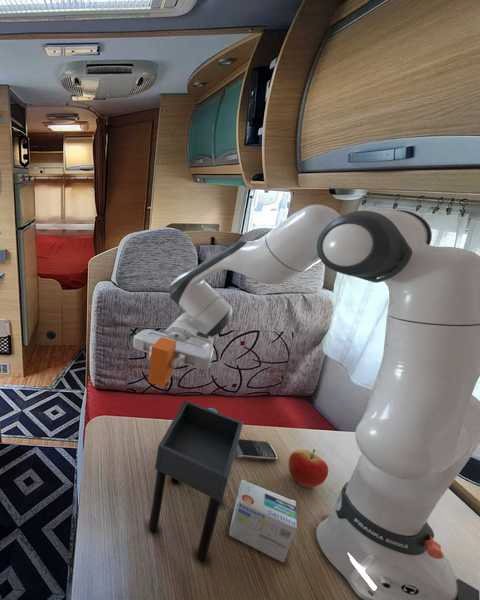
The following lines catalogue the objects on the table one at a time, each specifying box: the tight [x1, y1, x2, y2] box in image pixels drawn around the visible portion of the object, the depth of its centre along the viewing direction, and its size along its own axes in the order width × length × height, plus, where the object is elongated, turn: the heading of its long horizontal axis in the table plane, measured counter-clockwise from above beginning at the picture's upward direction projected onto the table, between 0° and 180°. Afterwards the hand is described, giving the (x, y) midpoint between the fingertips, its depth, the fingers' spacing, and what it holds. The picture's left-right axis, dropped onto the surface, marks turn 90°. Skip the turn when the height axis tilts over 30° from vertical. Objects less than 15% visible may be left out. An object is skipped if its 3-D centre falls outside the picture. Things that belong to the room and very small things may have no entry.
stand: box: [148, 470, 227, 563], centre depth 72 cm, size 12×16×18 cm
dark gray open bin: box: [154, 400, 244, 503], centre depth 67 cm, size 13×17×6 cm
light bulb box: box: [228, 478, 298, 564], centre depth 69 cm, size 11×7×11 cm, turn 59°
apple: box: [288, 448, 329, 488], centre depth 82 cm, size 8×8×10 cm
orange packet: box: [147, 337, 176, 389], centre depth 80 cm, size 4×6×10 cm, turn 146°
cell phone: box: [235, 438, 278, 462], centre depth 92 cm, size 6×11×1 cm, turn 84°
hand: (161, 361), depth 79 cm, fingers closed on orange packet, 4 cm apart
